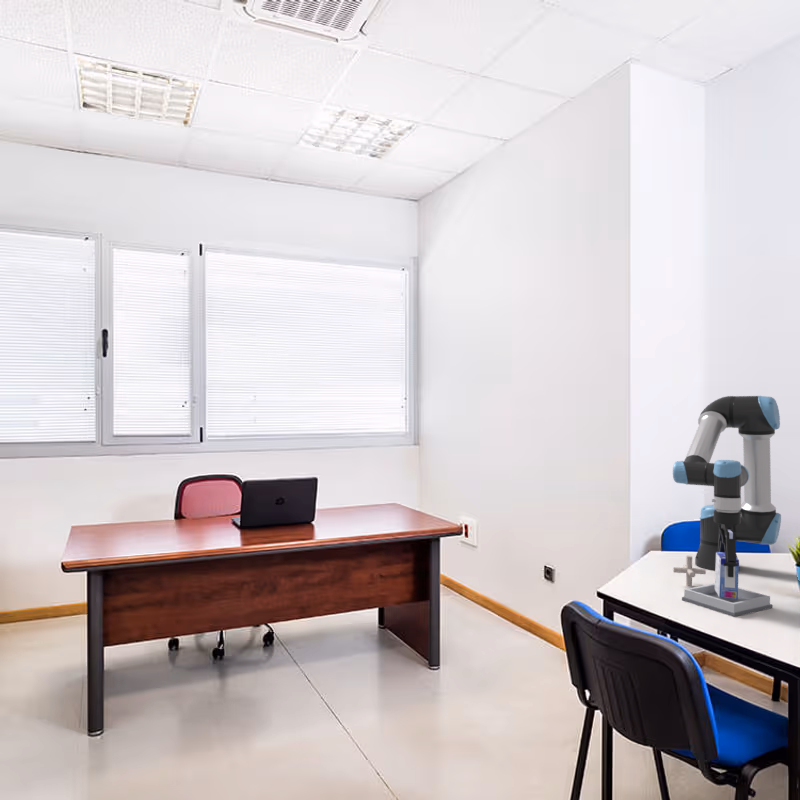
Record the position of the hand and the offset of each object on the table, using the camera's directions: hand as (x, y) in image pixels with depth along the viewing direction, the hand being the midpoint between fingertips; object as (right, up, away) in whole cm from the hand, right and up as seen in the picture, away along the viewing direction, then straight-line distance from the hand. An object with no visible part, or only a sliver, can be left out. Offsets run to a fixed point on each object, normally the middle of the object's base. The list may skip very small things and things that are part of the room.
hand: (726, 582), depth 205 cm
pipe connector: (-3, -7, +20) cm, 21 cm away
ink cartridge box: (0, -4, 0) cm, 4 cm away
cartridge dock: (0, -7, 0) cm, 7 cm away
